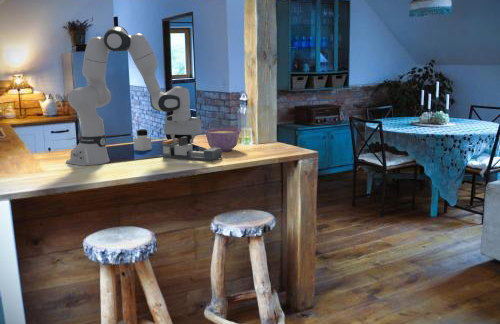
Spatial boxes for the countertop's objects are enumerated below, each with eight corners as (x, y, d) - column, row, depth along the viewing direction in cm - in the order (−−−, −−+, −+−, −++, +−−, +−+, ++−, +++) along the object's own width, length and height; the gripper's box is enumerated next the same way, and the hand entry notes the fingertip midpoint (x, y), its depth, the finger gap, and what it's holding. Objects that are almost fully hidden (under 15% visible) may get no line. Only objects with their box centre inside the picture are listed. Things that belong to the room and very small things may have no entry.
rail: (162, 157, 264) (161, 144, 263) (173, 154, 274) (172, 141, 272) (212, 161, 253) (211, 147, 251) (221, 157, 262) (220, 144, 260)
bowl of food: (247, 150, 281) (246, 130, 278) (216, 155, 270) (216, 134, 267) (228, 146, 297) (228, 127, 294) (199, 149, 286) (198, 130, 284)
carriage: (174, 154, 263) (173, 138, 261) (181, 152, 269) (180, 136, 267) (186, 155, 260) (185, 138, 258) (192, 153, 267) (192, 136, 265)
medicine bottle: (151, 149, 291) (150, 129, 288) (143, 151, 285) (142, 130, 282) (143, 148, 294) (141, 128, 292) (134, 150, 289) (133, 129, 286)
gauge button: (162, 143, 262) (162, 141, 262) (173, 140, 272) (173, 138, 272) (167, 144, 261) (167, 141, 261) (178, 140, 271) (178, 138, 271)
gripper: (202, 116, 262) (203, 142, 264) (166, 116, 266) (167, 141, 269) (199, 118, 255) (200, 144, 258) (162, 117, 260) (163, 143, 263)
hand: (183, 142), depth 264 cm, fingers open, 8 cm apart
